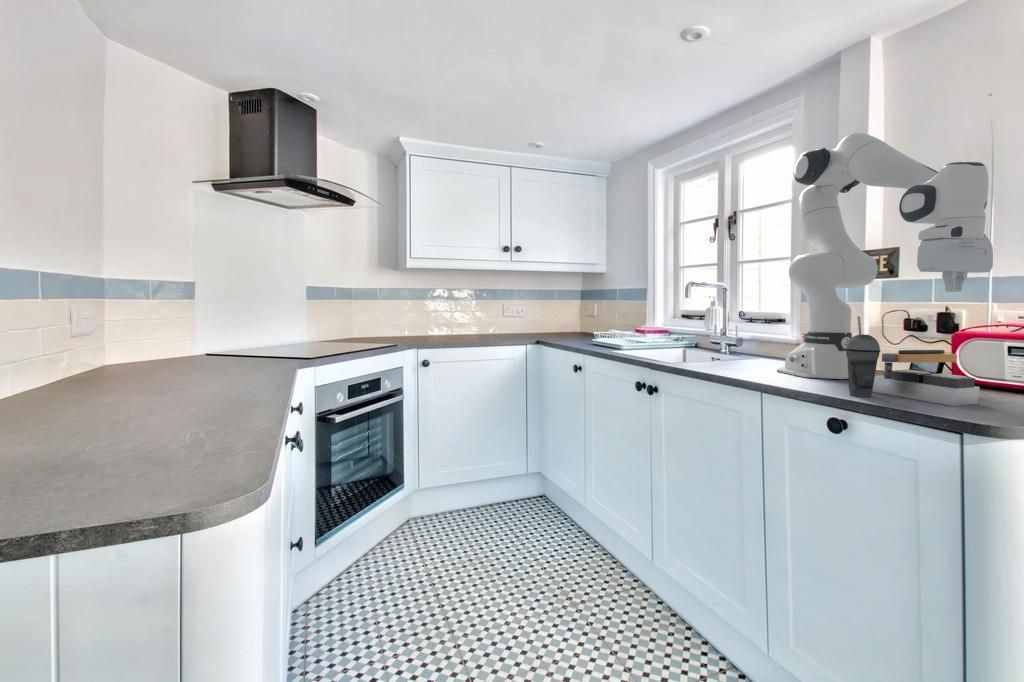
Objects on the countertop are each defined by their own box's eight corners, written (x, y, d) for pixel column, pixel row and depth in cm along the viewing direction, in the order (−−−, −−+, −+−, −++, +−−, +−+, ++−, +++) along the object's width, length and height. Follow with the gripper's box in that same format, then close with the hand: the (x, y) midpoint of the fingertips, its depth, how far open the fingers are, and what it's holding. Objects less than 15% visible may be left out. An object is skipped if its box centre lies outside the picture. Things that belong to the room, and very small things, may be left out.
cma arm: (890, 362, 128) (891, 351, 128) (876, 360, 133) (877, 349, 132) (956, 362, 130) (957, 350, 129) (940, 360, 134) (941, 349, 134)
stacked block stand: (868, 391, 132) (869, 362, 131) (890, 389, 134) (891, 361, 134) (954, 406, 113) (956, 372, 112) (978, 404, 115) (980, 371, 115)
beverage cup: (876, 399, 120) (880, 317, 119) (840, 395, 125) (844, 316, 124) (879, 395, 126) (884, 316, 124) (845, 392, 131) (849, 315, 129)
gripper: (973, 235, 122) (968, 291, 124) (913, 232, 117) (908, 291, 118) (1004, 232, 116) (999, 291, 118) (943, 229, 111) (937, 291, 112)
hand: (953, 291), depth 118 cm, fingers closed
